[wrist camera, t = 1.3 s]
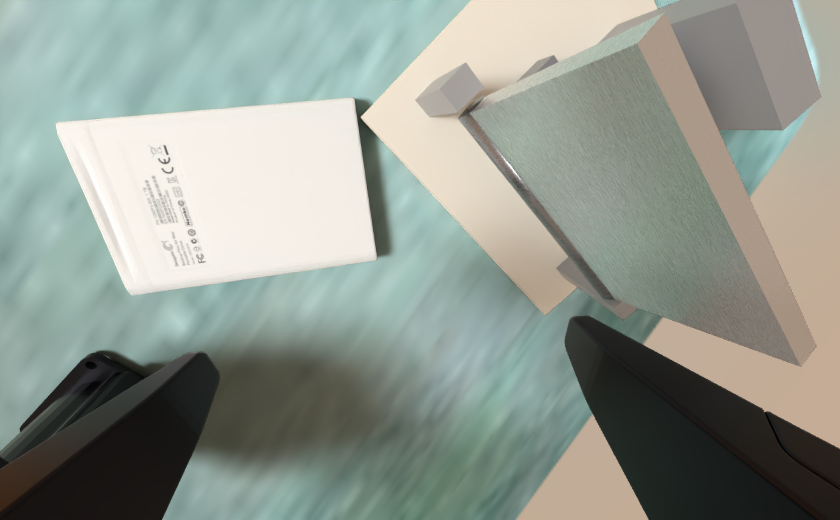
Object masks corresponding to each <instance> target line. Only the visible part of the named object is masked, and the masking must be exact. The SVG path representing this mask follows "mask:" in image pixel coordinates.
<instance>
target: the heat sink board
mask: <svg viewBox="0 0 840 520" xmlns="http://www.w3.org/2000/svg"><path fill="white" fill-rule="evenodd" d="M664 12H665V14H666V16H667V18H668V20H669V23H670V25H671V27H672V29H673V31H674V34H675V36H676V38H677V40H678V42H679V45H680V47H681V49H682V51H683V53H684V55H685V58H686V60H687V62H688V64H689V66H690V69H691V71H692V73H693V75H694V77H695V80H696V82H697V84H698V86H699V88H700V91H701V93H702V95H703V97H704V99H705V102H706V104H707V106H708V108H709V110H710V113H711V115H712V117H713V119H714V121H715V124H716V126H717V128H718V130H784V129H785V128H786V127H787V126H788V125H790V124H791V123H792V122H793V121H794V120H795V119H797V118H798V117H799V116H800V115H801V114H802V113H803V112H805V111H806V110H807V109H808V108H809V107H810V106H812V105H813V104H814V103H815V102H816V101H817V100H818V99H820V98H821V94H820V91H819V88H818V84H817V81H816V78H815V74H814V71H813V68H812V64H811V61H810V58H809V54H808V51H807V48H806V44H805V41H804V38H803V34H802V31H801V28H800V24H799V21H798V18H797V14H796V11H795V8H794V4H793V1H792V0H679V1H677V2H674V3H672V4H669V5H666V6H664V7H661V8H659V9H658V8H657V6H656V4H655V2H654V0H471V1H470V2H469V3H468V4H467V5H466V6H465V7H464V9H463V10H462V11H461V12H460V13H459V14H458V15H457V16H456V17H455V18H454V19H453V20H452V21H451V22H450V23H449V24H448V25H447V26H446V28H445V29H444V30H443V31H442V32H441V33H440V34H439V35H438V36H437V37H436V38H435V39H434V40H433V41H432V42H431V43H430V44H429V46H428V47H427V48H426V49H425V50H424V51H423V52H422V53H421V54H420V55H419V56H418V57H417V58H416V59H415V60H414V61H413V62H412V63H411V65H410V66H409V67H408V68H407V69H406V70H405V71H404V72H403V73H402V74H401V75H400V76H399V77H398V78H397V79H396V80H395V81H394V83H393V84H392V85H391V86H390V87H389V88H388V89H387V90H386V91H385V92H384V93H383V94H382V95H381V96H380V97H379V98H378V99H377V100H376V102H375V103H374V104H373V105H372V106H371V107H370V108H369V109H368V110H367V111H366V112H365V113H364V114H363V115H362V116H361V117H360V118H361V119H362V120H363V121H364V123H365V124H366V125H367V126H368V127H369V128H370V129H371V130H372V131H373V132H374V133H375V134H376V135H377V136H378V138H379V139H380V140H381V141H382V142H383V143H384V144H385V145H386V146H387V147H388V148H389V149H390V150H391V151H392V153H393V154H394V155H395V156H396V157H397V158H398V159H399V160H400V161H401V162H402V163H403V164H404V165H405V166H406V168H407V169H408V170H409V171H410V172H411V173H412V174H413V175H414V176H415V177H416V178H417V179H418V180H419V181H420V182H421V184H422V185H423V186H424V187H425V188H426V189H427V190H428V191H429V192H430V193H431V194H432V195H433V196H434V197H435V199H436V200H437V201H438V202H439V203H440V204H441V205H442V206H443V207H444V208H445V209H446V210H447V211H448V212H449V214H450V215H451V216H452V217H453V218H454V219H455V220H456V221H457V222H458V223H459V224H460V225H461V226H462V227H463V229H464V230H465V231H466V232H467V233H468V234H469V235H470V236H471V237H472V238H473V239H474V240H475V241H476V242H477V244H478V245H479V246H480V247H481V248H482V249H483V250H484V251H485V252H486V253H487V254H488V255H489V256H490V257H491V259H492V260H493V261H494V262H495V263H496V264H497V265H498V266H499V267H500V268H501V269H502V270H503V271H504V272H505V274H506V275H507V276H508V277H509V278H510V279H511V280H512V281H513V282H514V283H515V284H516V285H517V286H518V287H519V288H520V290H521V291H522V292H523V293H524V294H525V295H526V296H527V297H528V298H529V299H530V300H531V301H532V302H533V303H534V305H535V306H536V307H537V308H538V309H539V310H540V311H541V312H542V313H543V314H544V315H546V314H548V313H549V312H550V311H551V310H552V309H553V308H554V307H555V306H557V305H558V304H559V303H560V302H561V301H562V300H563V299H565V298H566V297H567V296H568V295H569V294H570V293H571V292H573V291H574V290H575V289H576V288H579V289H580V290H582V291H583V292H584V293H586V294H587V295H589V296H590V297H591V298H593V299H594V300H596V301H597V302H598V303H600V304H601V305H603V306H604V307H605V308H607V309H608V310H610V311H611V312H612V313H614V314H615V315H617V316H618V317H620V318H621V319H622V320H625V319H626V318H627V317H628V316H629V315H631V314H632V313H633V312H634V311H635V310H636V309H638V308H637V307H634V306H632V305H629V304H626V303H623V302H621V301H618V300H615V299H614V300H604V299H602V298H601V297H600V295H599V294H598V293H597V292H596V290H595V289H594V288H593V287H592V286H591V284H590V283H589V282H588V281H587V279H586V278H585V277H584V276H583V274H582V273H581V272H580V271H579V269H578V268H577V267H576V266H575V264H574V263H573V262H572V261H571V259H570V258H569V257H568V256H567V254H566V253H565V252H564V251H563V249H562V248H561V247H560V246H559V244H558V243H557V242H556V241H555V239H554V238H553V237H552V236H551V234H550V233H549V232H548V231H547V229H546V228H545V227H544V226H543V224H542V223H541V222H540V221H539V219H538V218H537V217H536V216H535V214H534V213H533V212H532V211H531V209H530V208H529V207H528V206H527V205H526V203H525V202H524V201H523V200H522V198H521V197H520V196H519V195H518V193H517V192H516V191H515V190H514V188H513V187H512V186H511V185H510V183H509V182H508V181H507V180H506V178H505V177H504V176H503V175H502V173H501V172H500V171H499V170H498V168H497V167H496V166H495V165H494V163H493V162H492V161H491V160H490V158H489V157H488V156H487V155H486V153H485V152H484V151H483V150H482V148H481V147H480V146H479V145H478V143H477V142H476V141H475V140H474V138H473V137H472V136H471V135H470V133H469V132H468V131H467V130H466V128H465V127H464V126H463V125H462V124H461V122H460V121H459V120H458V118H459V116H460V115H461V114H462V112H463V111H464V110H465V109H466V108H467V107H468V106H469V105H470V104H472V103H473V102H474V101H475V100H476V99H478V98H479V97H481V96H483V95H484V96H485V97H486V96H488V95H490V94H492V93H494V92H496V91H498V90H500V89H503V88H505V87H507V86H509V85H511V84H513V83H515V82H518V81H520V80H522V79H524V78H526V77H528V76H530V75H532V74H535V73H537V72H539V71H541V70H543V69H545V68H547V67H549V66H552V65H554V64H556V63H558V62H560V61H562V60H564V59H566V58H569V57H571V56H573V55H575V54H577V53H579V52H581V51H583V50H586V49H588V48H590V47H592V46H594V45H596V44H598V43H600V42H603V41H605V40H607V39H609V38H611V37H613V36H615V35H618V34H620V33H622V32H624V31H626V30H628V29H630V28H632V27H635V26H637V25H639V24H641V23H643V22H645V21H647V20H649V19H652V18H654V17H656V16H658V15H660V14H662V13H664Z"/></svg>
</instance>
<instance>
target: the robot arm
mask: <svg viewBox="0 0 840 520" xmlns="http://www.w3.org/2000/svg"><path fill="white" fill-rule="evenodd" d="M565 347H566V351H567V353H568V356H569V359H570V361H571V364H572V366H573V369H574V371H575V374H576V377H577V379H578V382H579V384H580V387H581V389H582V392H583V394H584V397H585V399H586V401H587V403H588V405H589V407H590V410H591V411H592V413H593V415H594V417H595V419H596V421H597V423H598V425H599V427H600V428H601V430H602V432H603V434H604V436H605V438H606V440H607V442H608V443H609V445H610V447H611V449H612V451H613V453H614V455H615V457H616V459H617V460H618V462H619V464H620V466H621V468H622V470H623V472H624V474H625V476H626V478H627V479H628V481H629V483H630V485H631V487H632V489H633V491H634V493H635V494H636V496H637V498H638V500H639V502H640V504H641V506H642V508H643V510H644V511H645V513H646V515H647V517H648V519H649V520H840V449H839V448H837V447H835V446H834V445H832V444H830V443H828V442H826V441H824V440H822V439H820V438H818V437H816V436H814V435H812V434H810V433H809V432H807V431H805V430H802V429H801V428H799V427H797V426H795V425H793V424H791V423H789V422H788V421H786V420H784V419H782V418H780V417H778V416H776V415H774V414H772V413H771V412H764V410H763V409H762V408H760V407H758V406H756V405H754V404H753V403H751V402H749V401H747V400H745V399H743V398H741V397H739V396H738V395H736V394H734V393H732V392H730V391H728V390H726V389H725V388H722V387H721V386H719V385H717V384H715V383H713V382H711V381H710V380H708V379H706V378H704V377H702V376H700V375H698V374H696V373H695V372H693V371H691V370H689V369H687V368H685V367H683V366H681V365H680V364H678V363H676V362H674V361H672V360H670V359H668V358H667V357H665V356H663V355H661V354H659V353H657V352H655V351H654V350H651V349H650V348H648V347H646V346H644V345H642V344H640V343H639V342H637V341H635V340H633V339H631V338H629V337H627V336H625V335H624V334H622V333H620V332H618V331H616V330H614V329H612V328H611V327H609V326H607V325H605V324H603V323H601V322H599V321H597V320H596V319H594V318H592V317H590V316H586V315H585V316H574V317H572V318H571V319H570V320H569V324H568V328H567V332H566V336H565ZM92 362H94V363H96V365H95V364H93V363H92ZM219 379H220V376H219V371H218V369H217V368H216V367H215V365H214V364H213V362H212V361H211V359H210V358H209V356H208V355H207V354H206V353H205V352H202V351H199V352H189V353H186V354H184V355H182V356H180V357H179V358H177V359H176V360H174V361H172V362H171V363H169V364H168V365H166V366H164V367H163V368H161V369H160V370H158V371H156V372H155V373H153V374H152V375H150V376H148V377H147V378H145V377H143V376H141V375H139V374H137V373H135V372H133V371H131V370H130V369H128V368H126V367H124V366H122V365H120V364H118V363H116V362H114V361H113V360H111V359H109V358H107V357H105V356H103V355H101V354H98V353H91V354H89V355H87V356H86V357H85V358H84V359H82V360H81V361H80V362H79V363H78V365H77V366H76V367H75V368H74V369H73V370H72V371H71V372H70V373H69V374H68V375H67V377H66V378H65V379H64V380H63V381H62V382H61V383H60V384H59V385H58V386H57V387H56V388H55V390H54V391H53V392H52V393H51V394H50V395H49V396H48V397H47V398H46V399H45V400H44V402H43V403H42V404H41V405H40V406H39V407H38V408H37V409H36V410H35V411H34V412H33V414H32V415H31V416H30V417H29V418H28V419H27V420H26V421H25V422H24V423H23V424H22V425H21V427H20V433H19V434H18V435H17V436H16V437H15V438H14V439H13V440H12V441H11V442H10V443H8V444H7V445H6V446H5V447H4V448H3V449H2V450H1V451H0V520H162V519H163V517H164V514H165V512H166V510H167V508H168V506H169V504H170V501H171V499H172V497H173V495H174V493H175V491H176V488H177V486H178V484H179V482H180V480H181V478H182V475H183V473H184V471H185V469H186V467H187V465H188V462H189V460H190V458H191V456H192V454H193V452H194V449H195V447H196V445H197V443H198V440H199V438H200V435H201V433H202V430H203V428H204V425H205V422H206V419H207V416H208V413H209V410H210V407H211V404H212V401H213V398H214V395H215V393H216V390H217V387H218V384H219Z"/></svg>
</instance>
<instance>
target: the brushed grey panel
mask: <svg viewBox="0 0 840 520" xmlns="http://www.w3.org/2000/svg"><path fill="white" fill-rule="evenodd" d="M458 120H459V121H460V122H461V124H462V125H463V126H464V127H465V128H466V130H467V131H468V132H469V133H470V135H471V136H472V137H473V138H474V140H475V141H476V142H477V143H478V145H479V146H480V147H481V148H482V150H483V151H484V152H485V153H486V155H487V156H488V157H489V158H490V160H491V161H492V162H493V163H494V165H495V166H496V167H497V168H498V170H499V171H500V172H501V173H502V175H503V176H504V177H505V178H506V180H507V181H508V182H509V183H510V185H511V186H512V187H513V188H514V190H515V191H516V192H517V193H518V195H519V196H520V197H521V198H522V200H523V201H524V202H525V203H526V205H527V206H528V207H529V208H530V209H531V211H532V212H533V213H534V214H535V216H536V217H537V218H538V219H539V221H540V222H541V223H542V224H543V226H544V227H545V228H546V229H547V231H548V232H549V233H550V234H551V236H552V237H553V238H554V239H555V241H556V242H557V243H558V244H559V246H560V247H561V248H562V249H563V251H564V252H565V253H566V254H567V256H568V257H569V258H570V259H571V261H572V262H573V263H574V264H575V266H576V267H577V268H578V269H579V271H580V272H581V273H582V274H583V276H584V277H585V278H586V279H587V281H588V282H589V283H590V284H591V286H592V287H593V288H594V289H595V290H596V292H597V293H598V294H599V295H600V297H601V298H602V299H604V300H614V299H615V300H618V301H621V302H623V303H626V304H629V305H632V306H634V307H637V308H640V309H643V310H645V311H648V312H651V313H654V314H656V315H659V316H662V317H665V318H668V319H670V320H673V321H676V322H679V323H681V324H684V325H687V326H690V327H693V328H695V329H698V330H701V331H704V332H706V333H709V334H712V335H714V336H717V337H720V338H723V339H726V340H728V341H731V342H734V343H737V344H739V345H742V346H745V347H747V348H750V349H753V350H756V351H759V352H761V353H764V354H767V355H770V356H772V357H775V358H778V359H781V360H783V361H786V362H789V363H792V364H795V365H797V366H800V367H801V366H802V365H803V364H804V362H805V361H806V360H807V358H808V357H809V356H810V354H811V353H812V352H813V351H814V349H815V348H816V343H815V341H814V339H813V337H812V335H811V332H810V330H809V328H808V326H807V324H806V321H805V319H804V317H803V315H802V313H801V310H800V308H799V306H798V304H797V302H796V300H795V297H794V295H793V293H792V291H791V289H790V286H789V284H788V282H787V280H786V277H785V275H784V273H783V271H782V269H781V267H780V264H779V262H778V260H777V258H776V256H775V254H774V251H773V249H772V247H771V245H770V242H769V240H768V238H767V236H766V234H765V231H764V229H763V227H762V225H761V223H760V220H759V218H758V216H757V214H756V212H755V210H754V207H753V205H752V203H751V201H750V198H749V196H748V194H747V192H746V190H745V187H744V185H743V183H742V181H741V179H740V176H739V174H738V172H737V170H736V168H735V165H734V163H733V161H732V159H731V157H730V154H729V152H728V150H727V148H726V146H725V143H724V141H723V139H722V137H721V135H720V132H719V130H718V128H717V126H716V124H715V121H714V119H713V117H712V115H711V113H710V110H709V108H708V106H707V104H706V102H705V99H704V97H703V95H702V93H701V91H700V88H699V86H698V84H697V82H696V80H695V77H694V75H693V73H692V71H691V69H690V66H689V64H688V62H687V60H686V58H685V55H684V53H683V51H682V49H681V47H680V45H679V42H678V40H677V38H676V36H675V34H674V31H673V29H672V27H671V25H670V23H669V20H668V18H667V16H666V14H665V12H664V13H662V14H660V15H658V16H656V17H654V18H652V19H649V20H647V21H645V22H643V23H641V24H639V25H637V26H635V27H632V28H630V29H628V30H626V31H624V32H622V33H620V34H618V35H615V36H613V37H611V38H609V39H607V40H605V41H603V42H600V43H598V44H596V45H594V46H592V47H590V48H588V49H586V50H583V51H581V52H579V53H577V54H575V55H573V56H571V57H569V58H566V59H564V60H562V61H560V62H558V63H556V64H554V65H552V66H549V67H547V68H545V69H543V70H541V71H539V72H537V73H535V74H532V75H530V76H528V77H526V78H524V79H522V80H520V81H518V82H515V83H513V84H511V85H509V86H507V87H505V88H503V89H500V90H498V91H496V92H494V93H492V94H490V95H488V96H486V97H485V96H484V95H483V96H481V97H479V98H478V99H476V100H475V101H474V102H473V103H472V104H470V105H469V106H468V107H467V108H466V109H465V110H464V111H463V112H462V114H461V115H460V116H459V118H458Z"/></svg>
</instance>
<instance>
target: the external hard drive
mask: <svg viewBox="0 0 840 520" xmlns="http://www.w3.org/2000/svg"><path fill="white" fill-rule="evenodd" d="M56 128H57V133H58V136H59V138H60V141H61V143H62V145H63V147H64V150H65V152H66V154H67V156H68V159H69V161H70V163H71V165H72V167H73V170H74V172H75V174H76V176H77V178H78V181H79V183H80V185H81V187H82V190H83V192H84V194H85V197H86V199H87V201H88V203H89V205H90V208H91V210H92V212H93V214H94V217H95V219H96V222H97V224H98V226H99V229H100V231H101V233H102V235H103V238H104V240H105V242H106V244H107V246H108V249H109V251H110V253H111V256H112V258H113V260H114V262H115V265H116V267H117V269H118V272H119V274H120V276H121V279H122V281H123V283H124V285H125V287H126V289H127V290H128V291H129V293H130V294H131V295H138V294H145V293H152V292H158V291H166V290H173V289H180V288H187V287H195V286H202V285H209V284H216V283H223V282H230V281H237V280H244V279H251V278H258V277H265V276H272V275H279V274H286V273H293V272H300V271H307V270H314V269H321V268H327V267H334V266H340V265H347V264H354V263H361V262H368V261H375V260H377V253H376V246H375V239H374V232H373V225H372V218H371V211H370V204H369V198H368V191H367V184H366V177H365V170H364V163H363V156H362V149H361V142H360V135H359V128H358V121H357V115H356V108H355V99H354V98H352V97H351V98H340V99H329V100H318V101H304V102H292V103H280V104H268V105H256V106H245V107H233V108H221V109H209V110H197V111H185V112H174V113H162V114H150V115H138V116H127V117H116V118H104V119H93V120H81V121H69V122H58V123H56Z"/></svg>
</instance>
